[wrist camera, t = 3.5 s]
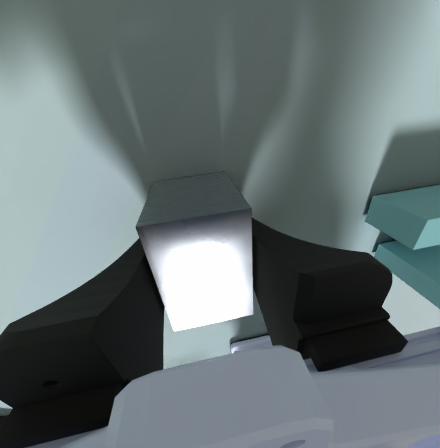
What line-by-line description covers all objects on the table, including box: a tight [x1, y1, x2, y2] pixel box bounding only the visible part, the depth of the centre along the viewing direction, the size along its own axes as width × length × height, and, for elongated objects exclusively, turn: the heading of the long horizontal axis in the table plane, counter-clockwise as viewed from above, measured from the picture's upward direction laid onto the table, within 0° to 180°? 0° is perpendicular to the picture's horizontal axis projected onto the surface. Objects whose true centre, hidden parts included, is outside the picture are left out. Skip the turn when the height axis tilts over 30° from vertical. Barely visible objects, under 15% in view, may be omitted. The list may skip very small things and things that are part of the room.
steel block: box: [136, 172, 253, 332], centre depth 10 cm, size 6×4×5 cm, turn 5°
